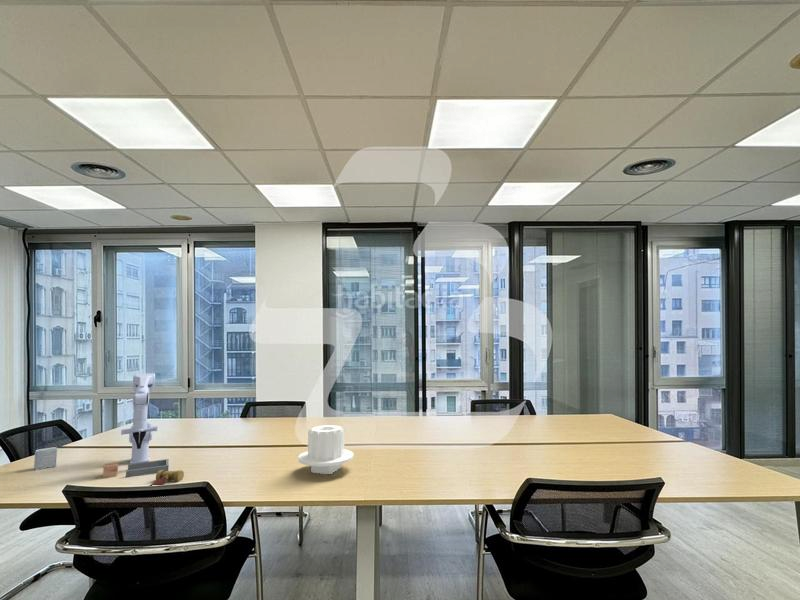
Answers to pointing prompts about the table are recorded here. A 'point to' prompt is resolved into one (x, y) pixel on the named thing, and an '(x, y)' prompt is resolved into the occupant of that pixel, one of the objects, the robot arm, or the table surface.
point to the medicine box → (45, 458)
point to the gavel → (168, 476)
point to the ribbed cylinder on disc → (325, 449)
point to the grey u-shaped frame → (145, 466)
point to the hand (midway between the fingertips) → (138, 448)
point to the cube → (110, 470)
